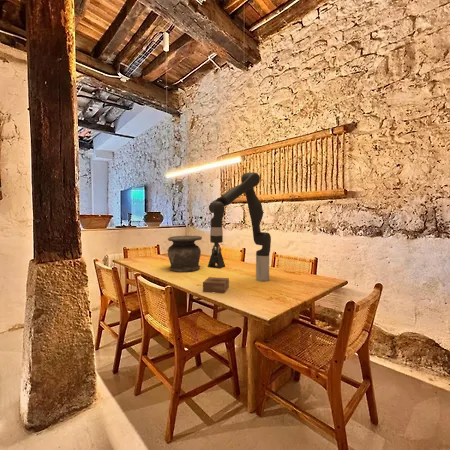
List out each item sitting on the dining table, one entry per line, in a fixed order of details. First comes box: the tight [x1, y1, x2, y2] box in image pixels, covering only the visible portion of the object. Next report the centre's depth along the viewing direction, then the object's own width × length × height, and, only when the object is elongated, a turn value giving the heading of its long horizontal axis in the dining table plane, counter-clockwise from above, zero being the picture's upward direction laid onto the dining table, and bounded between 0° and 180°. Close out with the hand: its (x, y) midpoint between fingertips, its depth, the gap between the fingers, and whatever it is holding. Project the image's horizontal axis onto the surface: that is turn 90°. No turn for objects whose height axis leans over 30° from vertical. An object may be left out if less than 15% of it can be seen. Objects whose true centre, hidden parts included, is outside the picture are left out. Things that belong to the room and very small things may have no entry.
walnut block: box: [202, 276, 230, 294], centre depth 161 cm, size 13×13×6 cm
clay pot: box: [167, 235, 202, 273], centre depth 218 cm, size 29×30×30 cm
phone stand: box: [207, 247, 226, 270], centre depth 160 cm, size 9×6×12 cm, turn 60°
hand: (216, 262), depth 160 cm, fingers closed on phone stand, 6 cm apart
